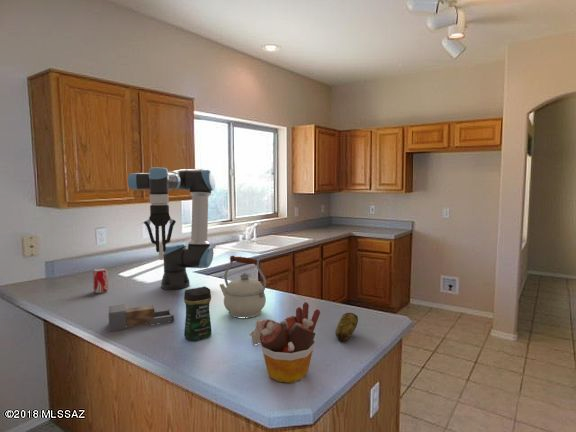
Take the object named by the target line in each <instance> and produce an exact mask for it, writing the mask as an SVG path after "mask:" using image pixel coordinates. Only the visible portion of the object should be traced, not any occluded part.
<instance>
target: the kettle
mask: <svg viewBox="0 0 576 432" xmlns="http://www.w3.org/2000/svg"><path fill="white" fill-rule="evenodd" d="M229 257H230V258H229V263H230V264H229V266H228V267H227V269H226V270H225V271H224V274H223V277H224V282H225V284H224V283H220V284H219V288H220V290H221V292H222V295H223V296H224V298H223V305H224V307H225V309H226V311H228V315H229V314H230V315H232V316H235V317H245V318H244V319H247V318H246V317H252V318H255V317H254V316H256V317H258V316H259V315H261V314H262V310H263V309H264V307H265V306H266V302H267V301H266V299H267V298H266V295H265V290H266V287H267V279H266V277H265V274H264V273H263V271H262V270H261V268H260V259H259V258H251V257H245V256H235V255H230V256H229ZM234 262H236V263H240V264H247V265H255V266H256V269H257V272H258V273H259V274H260V275H261V278H262V280H263V284H262V282H260V281H259V280H257V279H255V278H251V277H250V275H249V274H248V273H246V272H244V273H242V274H241V275H240V276H239V278H235V279H233V280H231V281H230V282H228V276H227V275H228V272H229V270H230V269H231V267H233V263H234ZM225 285H226V286H225ZM230 315H229V316H230ZM257 315H258V316H257ZM232 316H231V317H232ZM235 317H234V318H235Z"/></svg>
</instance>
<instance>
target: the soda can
mask: <svg viewBox="0 0 576 432" xmlns="http://www.w3.org/2000/svg"><path fill="white" fill-rule="evenodd" d="M92 285H93V287H92V288H93V292H94V293H96V294H104V293H107V292H108V290H109V272H108V271H107V268H104V267H99V268H95V269H94V270H93V272H92Z"/></svg>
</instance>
